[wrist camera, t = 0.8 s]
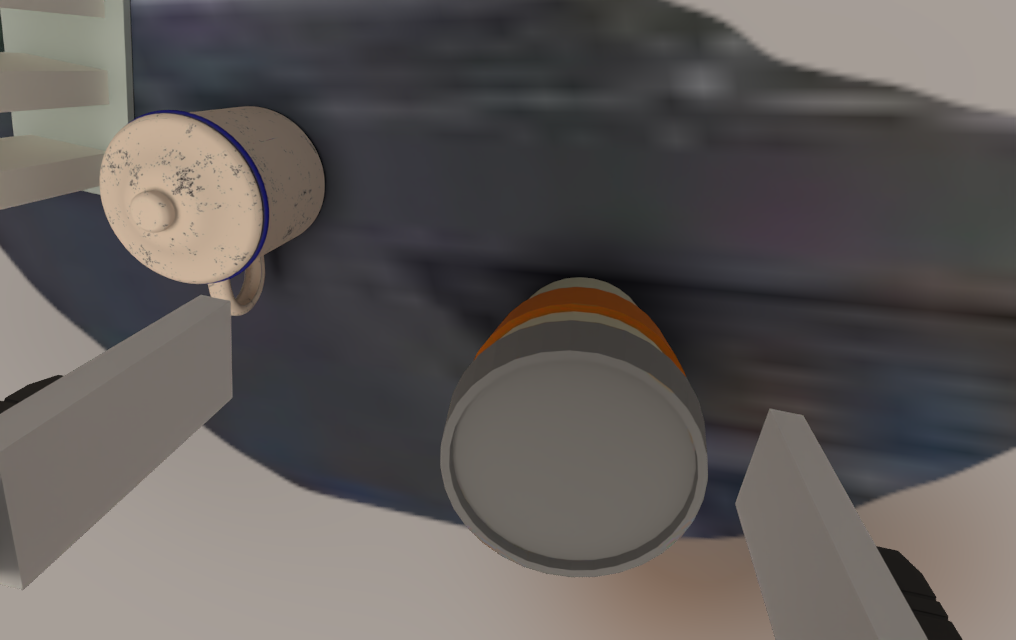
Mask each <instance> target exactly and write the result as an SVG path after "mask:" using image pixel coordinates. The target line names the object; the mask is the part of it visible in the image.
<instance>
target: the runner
mask: <svg viewBox="0 0 1016 640" xmlns="http://www.w3.org/2000/svg"><path fill="white" fill-rule="evenodd" d="M104 8H105V18H100V17H90V16H80V15H70V14H60V13H50V12H40V11H30V10H20V9H10V8H0V10H1V20H2V29H3V39H4V48H5V52H10V53H26V54H31V55H35V56H40V57H45V58H50V59H54V60H59V61H64V62H69V63H73V64H78V65H83V66H88V67H92V68H97V69H102V70H106V71H108V88H109V104H106V105H93V106H80V107H67V108H54V109H40V110H27V111H14V112H11V113H12V123H13V132H14V137H15V136H23V135H35V136H39V137H44V138H48V139H53V140H58V141H62V142H67V143H71V144H76V145H81V146H85V147H90V148H94V149H99V150H104V151H106V149H107V147H108V145H109V144H110V142H111V140H112V139H113V138H114V136H115V135H116V134H117V133H118V132H119V131H120V130H121V129H122V128H123V127H124V126H125V125H127V124H128V123H129V122H130V121H132V120H134V101H133V74H132V47H131V19H130V0H104ZM81 191H86V192H90V193H95V194H99V195H100V186H98V187H94V188H90V189H85V190H81Z"/></svg>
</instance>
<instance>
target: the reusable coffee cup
mask: <svg viewBox="0 0 1016 640" xmlns="http://www.w3.org/2000/svg"><path fill="white" fill-rule="evenodd" d="M440 467H441V472H442V477H443V482H444V486H445V490H446V492H447V494H448V496H449V499H450V501H451V503H452V506H453V508H454V509H455V511H456V512H457V514H458V515H459V517H460V518H461V520H462V521H463V522H464V524H465V525H466V527H467V528H468V529H469V530H470V531H471V532H472V533H474V535H475V536H477V538H478V539H479V540H480V541H482V543H484V544H485V545H487V546H488V547H489V548H491V549H492V550H494V551H495V552H497V553H498V554H500V555H501V556H503V557H505V558H507V559H509V560H511V561H513V562H515V563H517V564H519V565H521V566H523V567H526V568H530V569H533V570H536V571H540V572H543V573H546V574H553V575H560V576H567V577H597V576H602V575H609V574H614V573H620V572H623V571H625V570H628V569H631V568H634V567H637V566H639V565H642V564H644V563H646V562H648V561H649V560H651V559H653V558H655V557H656V556H658V555H660V554H662V553H663V552H664V551H665V550H667V549H668V548H669V547H670V546H671V545H672V544H674V543H675V542H676V541H677V540H678V539H680V537H681V536H682V535H683V534H684V532H685V531H686V530H687V528H688V527H689V526H690V525H691V523H692V522H693V521H694V519H695V517H696V514H697V512H698V510H699V508H700V506H701V504H702V502H703V499H704V494H705V489H706V484H707V480H708V468H707V448H706V436H705V423H704V419H703V415H702V411H701V408H700V404H699V400H698V398H697V396H696V394H695V392H694V391H693V389H692V387H691V385H690V383H689V381H688V379H687V378H686V375H685V372H684V371H683V369H682V367H681V365H680V363H679V361H678V359H677V357H676V356H675V354H674V352H673V351H672V349H671V347H670V346H669V344H668V343H667V341H666V339H665V338H664V336H663V334H662V333H661V331H660V330H659V328H658V327H657V326H656V324H655V323H654V322H653V321H652V320H651V319H650V317H649V316H648V315H647V314H646V313H645V312H643V311H642V310H641V309H640V308H638V307H637V305H636V304H635V303H634V302H633V301H632V299H631V298H630V297H629V296H628V295H626V294H625V293H624V292H622V291H621V290H620V289H619V288H617V287H615V286H613V285H611V284H609V283H607V282H604V281H600V280H597V279H593V278H583V277H577V278H566V279H563V280H559V281H556V282H553V283H551V284H549V285H547V286H545V287H543V288H541V289H540V290H538V291H537V292H536V293H535V294H533V295H532V296H531V297H530V298H529V299H528V300H526V301H524V302H523V303H522V304H520V305H519V306H518V307H517V308H515V309H514V310H513V311H511V312H510V313H509V314H508V316H507V317H506V318H505V319H504V320H503V322H502V323H501V324H500V325H499V326H498V328H497V329H496V330H495V331H494V332H493V334H492V335H491V336H490V337H489V339H488V340H487V341H486V342H485V344H484V345H483V346H482V347H481V349H480V350H479V351H478V353H477V355H476V357H475V359H474V361H473V362H472V363H471V365H470V366H469V367H468V368H467V369H466V371H465V372H464V373H463V375H462V377H461V379H460V381H459V383H458V384H457V386H456V388H455V390H454V392H453V395H452V399H451V403H450V407H449V411H448V415H447V420H446V424H445V429H444V433H443V438H442V443H441V466H440Z"/></svg>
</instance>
